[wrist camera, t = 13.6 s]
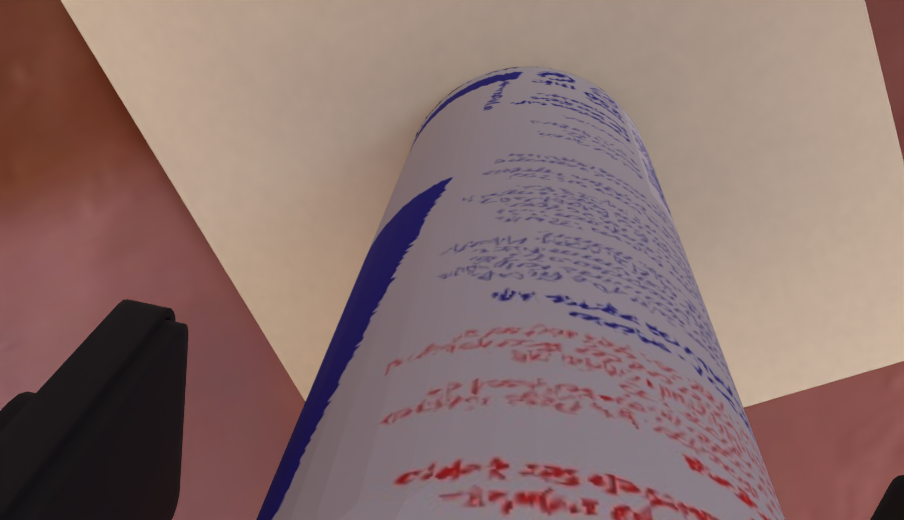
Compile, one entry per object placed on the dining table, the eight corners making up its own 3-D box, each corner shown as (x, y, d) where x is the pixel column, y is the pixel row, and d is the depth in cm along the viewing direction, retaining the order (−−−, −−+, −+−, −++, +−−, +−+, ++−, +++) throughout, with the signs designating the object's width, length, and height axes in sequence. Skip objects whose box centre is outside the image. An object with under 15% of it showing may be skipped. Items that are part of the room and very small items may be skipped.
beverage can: (394, 70, 19) (48, 610, 5) (649, 51, 18) (969, 615, 5) (422, 291, 21) (229, 1042, 8) (648, 281, 21) (859, 1085, 7)
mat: (67, -4, 19) (58, -1, 19) (769, -369, 15) (775, -375, 15) (376, 506, 25) (374, 515, 25) (942, 340, 21) (949, 348, 21)
